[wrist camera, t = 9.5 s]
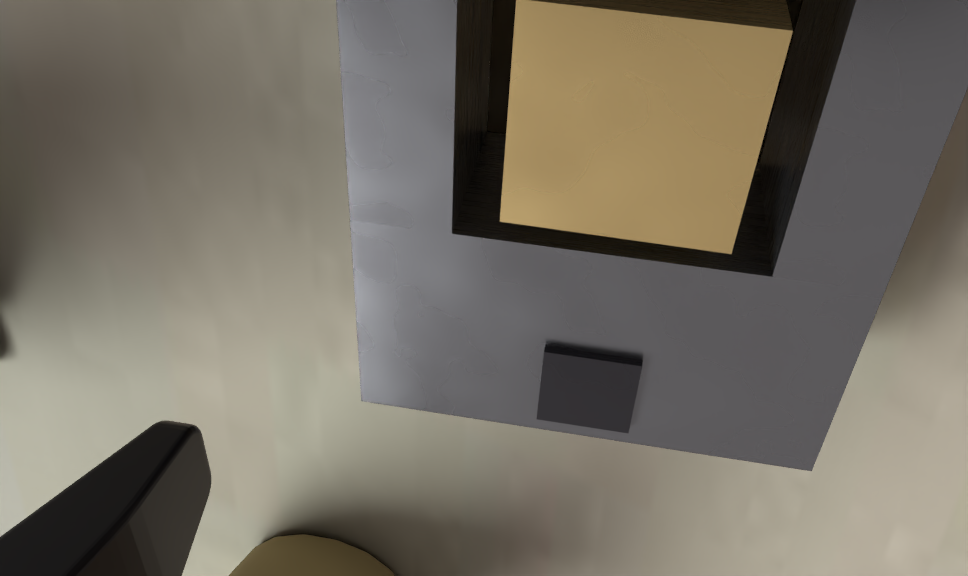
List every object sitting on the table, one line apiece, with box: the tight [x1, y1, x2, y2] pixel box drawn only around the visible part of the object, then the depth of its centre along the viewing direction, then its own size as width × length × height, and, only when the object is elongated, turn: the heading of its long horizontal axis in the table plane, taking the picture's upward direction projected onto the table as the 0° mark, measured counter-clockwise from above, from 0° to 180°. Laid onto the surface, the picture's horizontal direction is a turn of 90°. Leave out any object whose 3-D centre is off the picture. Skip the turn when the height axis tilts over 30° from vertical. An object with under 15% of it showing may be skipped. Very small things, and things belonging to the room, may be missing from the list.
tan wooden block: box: [500, 0, 793, 254], centre depth 17 cm, size 4×4×5 cm
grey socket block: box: [336, 0, 968, 471], centre depth 17 cm, size 10×16×4 cm, turn 178°
